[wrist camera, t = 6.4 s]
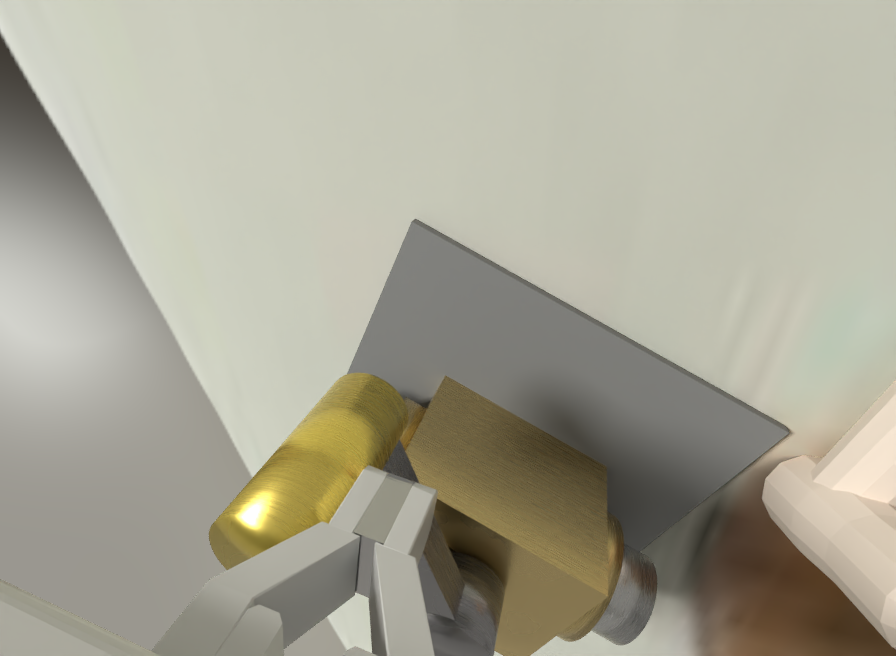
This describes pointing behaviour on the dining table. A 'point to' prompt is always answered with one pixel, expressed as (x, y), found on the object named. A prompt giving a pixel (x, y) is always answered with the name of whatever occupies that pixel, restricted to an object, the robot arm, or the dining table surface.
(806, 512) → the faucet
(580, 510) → the valve body
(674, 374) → the valve base plate
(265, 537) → the valve lever
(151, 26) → the dining table surface
